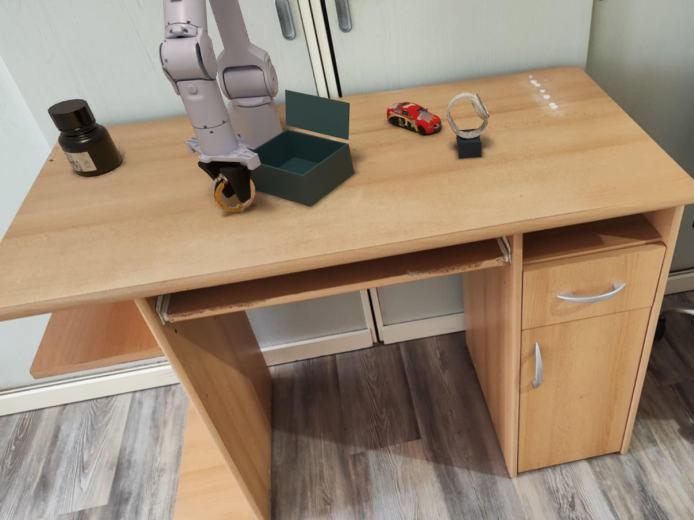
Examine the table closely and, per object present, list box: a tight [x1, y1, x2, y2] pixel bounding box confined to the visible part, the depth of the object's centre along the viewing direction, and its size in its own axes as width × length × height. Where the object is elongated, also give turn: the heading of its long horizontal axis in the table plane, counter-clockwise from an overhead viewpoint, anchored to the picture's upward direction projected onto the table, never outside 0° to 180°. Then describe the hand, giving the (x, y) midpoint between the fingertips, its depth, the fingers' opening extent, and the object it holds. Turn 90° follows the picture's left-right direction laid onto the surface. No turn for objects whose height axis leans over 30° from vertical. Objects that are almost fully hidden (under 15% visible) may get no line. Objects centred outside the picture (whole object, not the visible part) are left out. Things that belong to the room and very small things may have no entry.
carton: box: [250, 128, 355, 207], centre depth 106 cm, size 13×15×6 cm
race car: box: [386, 101, 442, 136], centre depth 121 cm, size 13×5×4 cm, turn 50°
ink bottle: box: [47, 98, 122, 177], centre depth 111 cm, size 10×9×12 cm
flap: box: [284, 89, 351, 141], centre depth 105 cm, size 6×15×1 cm
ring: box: [212, 172, 256, 213], centre depth 98 cm, size 7×3×8 cm, turn 127°
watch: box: [446, 91, 490, 160], centre depth 109 cm, size 6×8×11 cm
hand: (238, 197), depth 100 cm, fingers closed on ring, 3 cm apart
